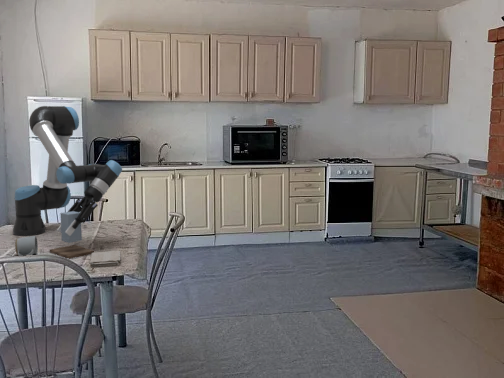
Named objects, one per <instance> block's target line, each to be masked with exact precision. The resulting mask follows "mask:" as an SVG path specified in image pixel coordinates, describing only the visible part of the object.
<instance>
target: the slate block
mask: <svg viewBox="0 0 504 378" xmlns="http://www.w3.org/2000/svg"><path fill="white" fill-rule="evenodd" d="M79 214H80V212H75V211H71V212H68V211H66V212H60V215H59V216H60V225H61V233H60V234H61V241H62V242H65V243H68V244H69V243H70V244H71V243H75V242H82V241H83V234H82V233H83V232H82V223H81V224H79V225H78V227H77V228H76V229H75V231H74V232H73V233H72V234H71V236H69V235H68V234H67V233H65V231H66V230H67V229H68V227H69V226H70V225H71V224H72V222H73V221H74V220H76V219H75V218H77V217H78V215H79ZM76 221H77V220H76Z"/></svg>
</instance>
